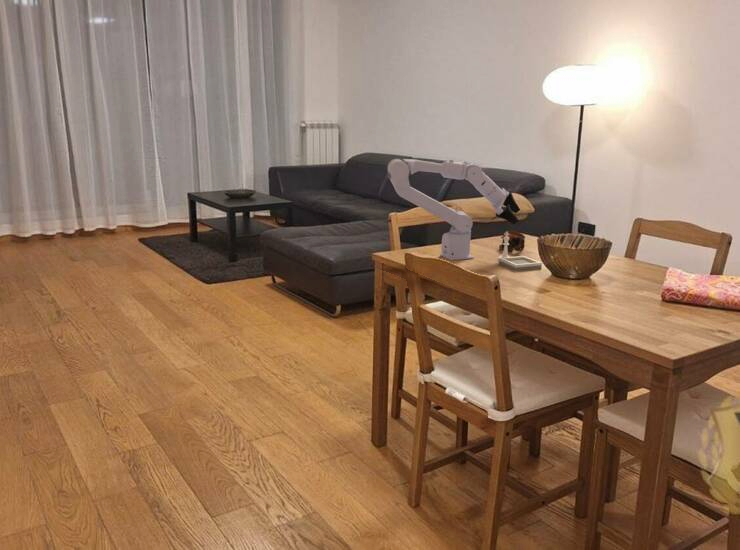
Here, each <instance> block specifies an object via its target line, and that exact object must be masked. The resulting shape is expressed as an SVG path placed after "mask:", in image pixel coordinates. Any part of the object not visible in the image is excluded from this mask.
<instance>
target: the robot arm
mask: <svg viewBox="0 0 740 550" xmlns="http://www.w3.org/2000/svg"><path fill="white" fill-rule="evenodd" d="M417 172H425V173H436V174H440V175H441V176H442V177H443V178H447V179H454V180H462V181H463V180H466V181H468V182H469V183H470V184H471V185H473V187H474V189H476V190H477V191H478V192H479V194H480V195H482V196H483V197H484V198H485V199H486V200H487V201H488V202H489V203H490V204H491V206H492V207H493V209H494V212H495V216H496V218H499V219H503V220H505V221H508V222H509V223H511V224H513V225H516V224H517V223H518V222H520V221H519V219H518V217H517V216H516V214H517V213H518V212H520V211H521V208H520V206H519V205H518V203H517V202H516V200H515V199H514V196H513V193H512V191H511V190H506V189H505V187H502V188H501V187H499V186H498V184H496V183H495V181H494V180H492V178H491V177H489V176H488V175H486V173H485V172H484V171H483V170H482V168H481V166H479V165H477V164H475V163H471V162H467V161H463V162H460V161H455V160H454V159H452V158H450V159H449V160H445V161H443V162H442V163H438V162H433V161H426V160H421V159H420V160H419V159H414V158H412V159H411V158H402V159H400V158H393V159H392V160H390V161H389V162H388V164H387V175H388V178H389V180H390V182H391V184H392V186H393V188H394V191H395V192H396V194H397V195H398V196H399V197H400V198H402V199H403V200H406V201H408V202H410V203H412V204H413V205H415V206H417V207H419V208H421V209H422V210H425V211H426V212H428V213H430V214H432V215H434V216H436V217H438V218H440V219H441V220H443V221H444V222H446V223H447V224H450V225H451V227H450V228H449V231H448V232H445V233H443V234H442V237H441V249H440V251H441V252H440V256H441V257H444V258H445V259H447V260H450V261H455V260H456V261H457V260H466V259H468V260H469V259H475V256H473V255H472V254H470V251H471V249H470V248H471V237H472V236H471V235H472V233H471V232H472V228H473V224H474V222H473V220H472V218H471V216H469V215H467V214H466V213H465V212H464V211H462V210H455V209H453V208H451V207H449V206H448V205H445V204H443V203H441V202H440V201H438V200H437V199H434V198H432V197H430V196H429V195H426V194H425V193H424V192H422V191H419V190H418V189H416V188H414V187H412V186H411V184H410V180H409V176H410V175H414V174H415V173H417Z"/></svg>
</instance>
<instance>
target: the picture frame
mask: <svg viewBox="0 0 740 550" xmlns="http://www.w3.org/2000/svg"><path fill="white" fill-rule="evenodd" d="M498 265H499V266H500V265H501V266H502V267H505V268H507V269H510V270H512V271H514V272H517V271H518V272H521V271H532V270H541V269H542V265H543V263H542V262H541V261H538V260H536V259H533V258H531V257H528V256H525V255H520V256H519V255H518V256H509V257H506V258H499V260H498Z"/></svg>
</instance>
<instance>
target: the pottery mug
mask: <svg viewBox="0 0 740 550" xmlns="http://www.w3.org/2000/svg"><path fill="white" fill-rule="evenodd" d="M507 232H508V234H509V235H508V237H509V240H508V243H509V245H507V251H508V254H509V253H510V254H512V253H513V251H514V250H515V251H516V252H519V251H521V250H524V249H525V243H526V241H525V238H526V236H525V235H524V234H523V233H520V232H518V231H514V230H507ZM504 233H506V231H505V232H504ZM504 233H503V235H502V236H501V237H500V239H502V243H501V244H499V247H498V251H499V252H501V251H504V246H505V245H503V243H505V242H504V237H505V236H506V235H505V234H504Z"/></svg>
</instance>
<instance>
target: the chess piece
mask: <svg viewBox="0 0 740 550" xmlns="http://www.w3.org/2000/svg"><path fill="white" fill-rule="evenodd" d="M507 231H508V230H507ZM507 231H505V232H506V233H505V232H504V233H503V235H504V234H505V235H506V236H505V237H504V242H505V243H503V245H505V246H504V251H503V252H502V254H501V255H500V256H498V257H497V261H499V258H506V257H510V256H509V252H508V251H507V245H509V243H508V240H509V237H508V235H509V234H508V232H507Z"/></svg>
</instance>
